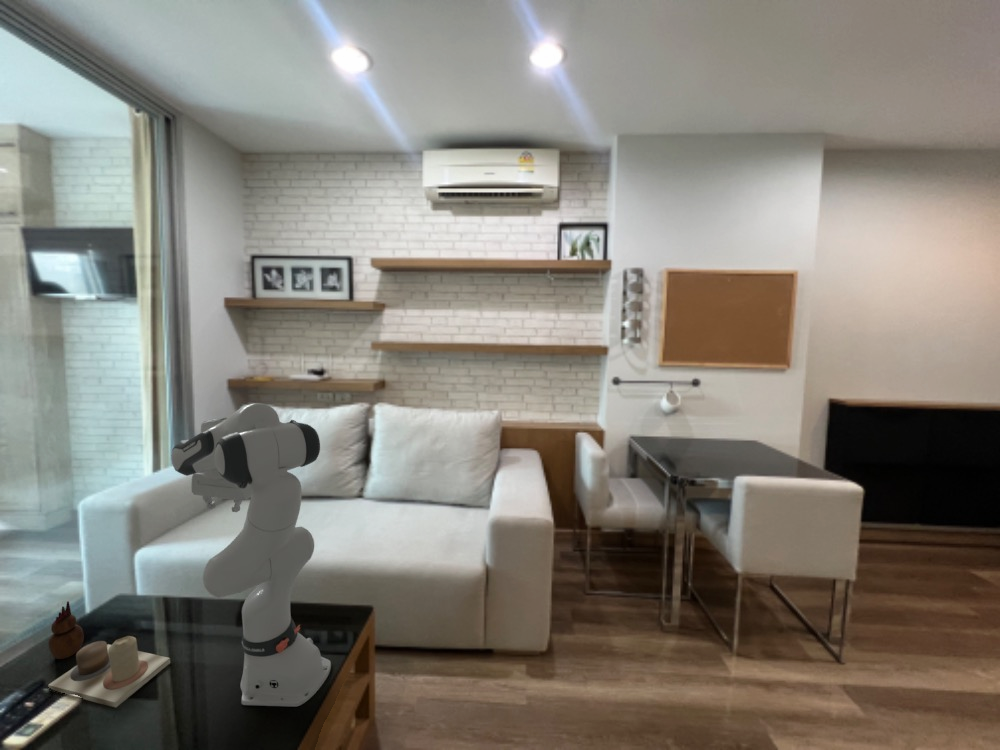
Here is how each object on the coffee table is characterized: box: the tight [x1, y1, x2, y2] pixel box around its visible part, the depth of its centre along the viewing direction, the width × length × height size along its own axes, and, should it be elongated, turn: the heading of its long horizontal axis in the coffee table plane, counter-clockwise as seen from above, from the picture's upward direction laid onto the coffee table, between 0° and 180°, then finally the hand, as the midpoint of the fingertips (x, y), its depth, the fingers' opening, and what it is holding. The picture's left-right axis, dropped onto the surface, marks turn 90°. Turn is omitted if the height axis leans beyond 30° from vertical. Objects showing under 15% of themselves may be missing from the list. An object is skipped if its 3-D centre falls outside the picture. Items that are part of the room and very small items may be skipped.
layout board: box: [47, 640, 171, 708], centre depth 114 cm, size 22×14×7 cm, turn 78°
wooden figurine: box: [48, 601, 85, 660], centre depth 121 cm, size 7×6×15 cm
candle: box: [108, 635, 140, 682], centre depth 113 cm, size 6×6×10 cm
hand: (223, 509), depth 137 cm, fingers open, 8 cm apart
